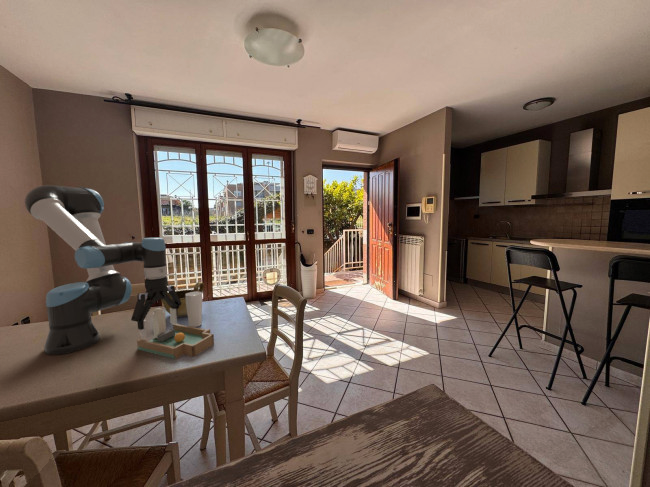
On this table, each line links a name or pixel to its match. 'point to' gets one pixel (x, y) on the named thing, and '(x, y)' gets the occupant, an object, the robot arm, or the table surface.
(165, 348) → the pitch
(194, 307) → the drinking glass
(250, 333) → the table surface
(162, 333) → the striker
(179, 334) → the ball
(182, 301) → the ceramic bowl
